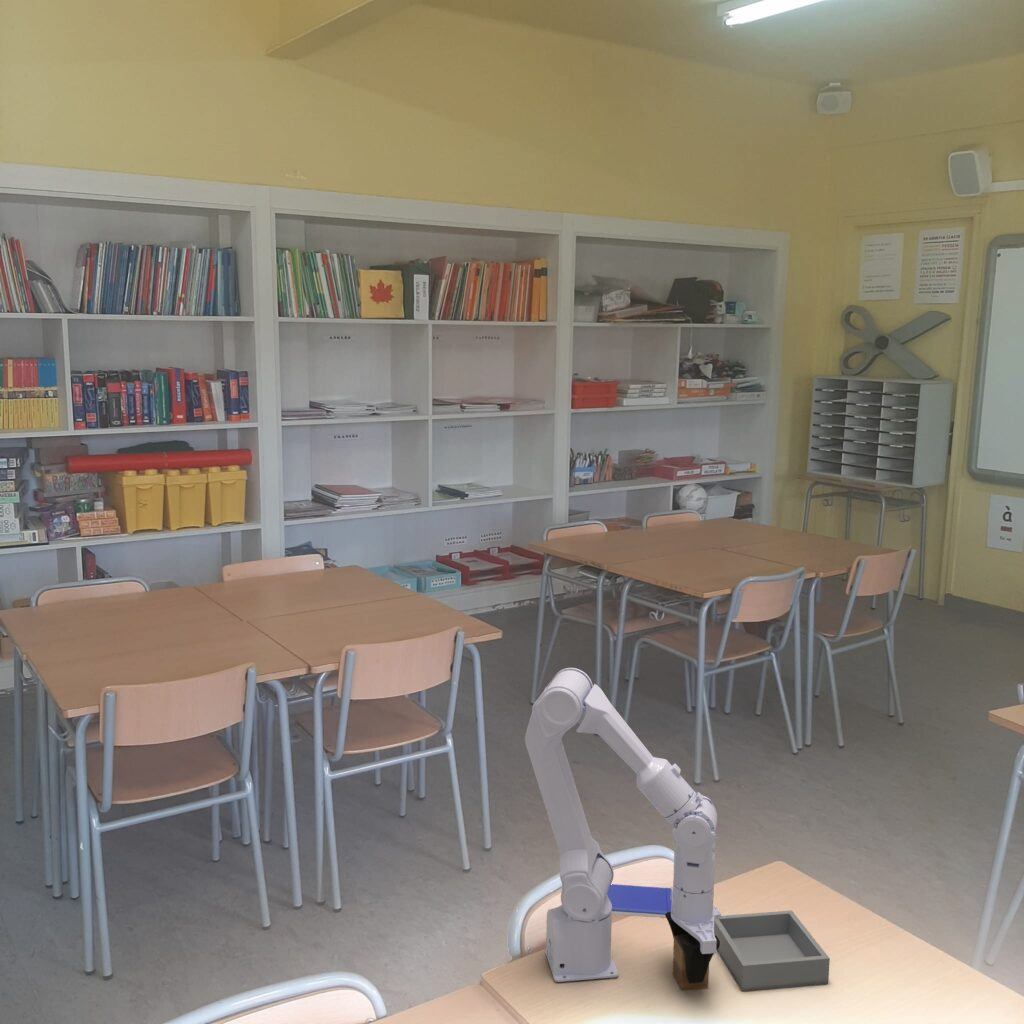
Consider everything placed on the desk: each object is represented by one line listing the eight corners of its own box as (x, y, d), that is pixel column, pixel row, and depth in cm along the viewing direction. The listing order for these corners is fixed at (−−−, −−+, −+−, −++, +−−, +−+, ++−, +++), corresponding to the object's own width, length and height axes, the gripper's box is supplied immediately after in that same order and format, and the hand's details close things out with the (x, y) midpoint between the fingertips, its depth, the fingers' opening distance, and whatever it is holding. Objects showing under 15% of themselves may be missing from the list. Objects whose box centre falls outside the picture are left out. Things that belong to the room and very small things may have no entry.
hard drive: (597, 907, 164) (674, 912, 163) (599, 881, 172) (672, 886, 171) (597, 916, 165) (674, 921, 163) (598, 890, 173) (672, 895, 171)
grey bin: (742, 991, 144) (743, 965, 144) (710, 940, 157) (711, 916, 156) (828, 984, 146) (829, 958, 146) (790, 934, 159) (791, 910, 158)
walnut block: (681, 990, 144) (682, 951, 144) (672, 973, 148) (673, 935, 147) (708, 988, 145) (709, 949, 144) (698, 971, 149) (700, 933, 148)
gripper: (739, 908, 138) (735, 1000, 140) (703, 857, 152) (700, 941, 154) (689, 912, 137) (685, 1004, 139) (658, 860, 151) (655, 945, 153)
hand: (690, 971), depth 146 cm, fingers closed on walnut block, 4 cm apart
